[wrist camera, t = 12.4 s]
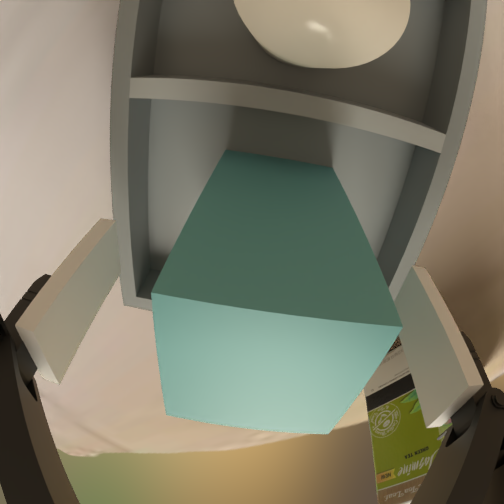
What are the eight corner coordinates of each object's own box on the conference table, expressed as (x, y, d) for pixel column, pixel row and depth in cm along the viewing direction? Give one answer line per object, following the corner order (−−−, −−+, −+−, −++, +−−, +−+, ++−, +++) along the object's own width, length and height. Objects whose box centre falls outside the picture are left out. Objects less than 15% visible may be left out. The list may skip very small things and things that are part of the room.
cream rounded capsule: (241, 59, 14) (219, 53, 8) (257, -34, 11) (245, -90, 5) (349, 78, 14) (396, 88, 8) (365, -13, 11) (416, -51, 5)
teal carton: (215, 241, 20) (166, 414, 10) (225, 149, 17) (150, 292, 7) (309, 256, 20) (328, 434, 10) (332, 167, 17) (403, 327, 7)
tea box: (355, 368, 28) (374, 515, 16) (445, 312, 24) (503, 463, 11) (416, 410, 33) (435, 512, 21) (483, 370, 29) (518, 474, 16)
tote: (142, 269, 23) (123, 305, 20) (164, -60, 11) (138, -83, 7) (364, 303, 24) (374, 341, 20) (452, -4, 11) (488, -12, 8)
